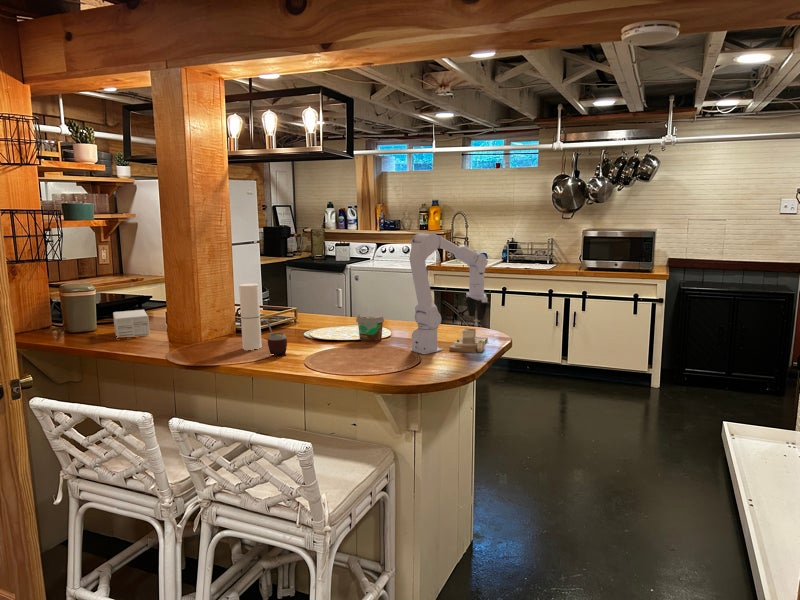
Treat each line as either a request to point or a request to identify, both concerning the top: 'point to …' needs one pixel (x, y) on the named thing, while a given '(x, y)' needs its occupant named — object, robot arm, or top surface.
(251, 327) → the cylindrical container
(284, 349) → the mate gourd
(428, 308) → the robot arm
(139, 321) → the supplement box
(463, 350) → the walnut board
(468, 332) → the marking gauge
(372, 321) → the food container
